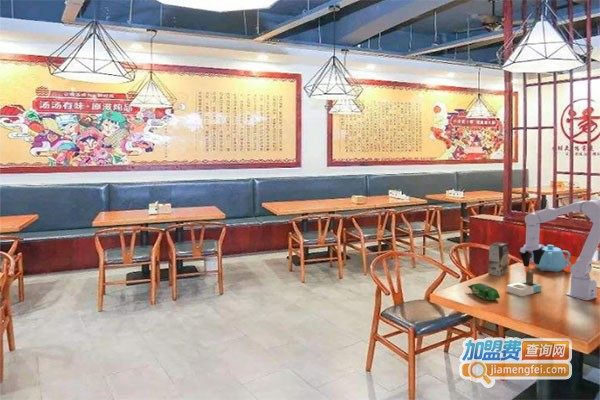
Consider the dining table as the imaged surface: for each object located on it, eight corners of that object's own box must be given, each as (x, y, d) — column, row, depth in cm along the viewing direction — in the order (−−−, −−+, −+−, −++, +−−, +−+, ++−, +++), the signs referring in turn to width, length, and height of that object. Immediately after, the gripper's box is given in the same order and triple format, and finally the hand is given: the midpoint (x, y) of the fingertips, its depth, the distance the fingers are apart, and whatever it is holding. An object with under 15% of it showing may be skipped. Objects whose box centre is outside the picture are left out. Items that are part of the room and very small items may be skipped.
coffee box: (500, 276, 234) (500, 246, 231) (488, 273, 238) (489, 244, 236) (508, 272, 239) (509, 243, 237) (496, 270, 244) (497, 241, 242)
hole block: (541, 291, 210) (541, 285, 209) (521, 296, 204) (522, 290, 203) (525, 286, 217) (526, 280, 216) (506, 291, 211) (506, 285, 210)
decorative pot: (574, 272, 236) (575, 247, 235) (546, 274, 234) (547, 249, 232) (552, 264, 252) (553, 241, 251) (526, 266, 250) (527, 242, 248)
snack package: (479, 290, 214) (480, 280, 213) (501, 301, 199) (501, 290, 198) (466, 292, 212) (466, 281, 212) (487, 303, 197) (487, 291, 197)
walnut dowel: (534, 290, 211) (534, 272, 210) (529, 291, 210) (530, 273, 209) (528, 288, 214) (529, 270, 212) (524, 289, 213) (524, 271, 211)
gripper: (534, 234, 221) (533, 261, 223) (514, 237, 215) (514, 265, 217) (548, 236, 215) (547, 264, 217) (528, 240, 209) (527, 268, 210)
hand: (531, 265), depth 216 cm, fingers open, 7 cm apart
